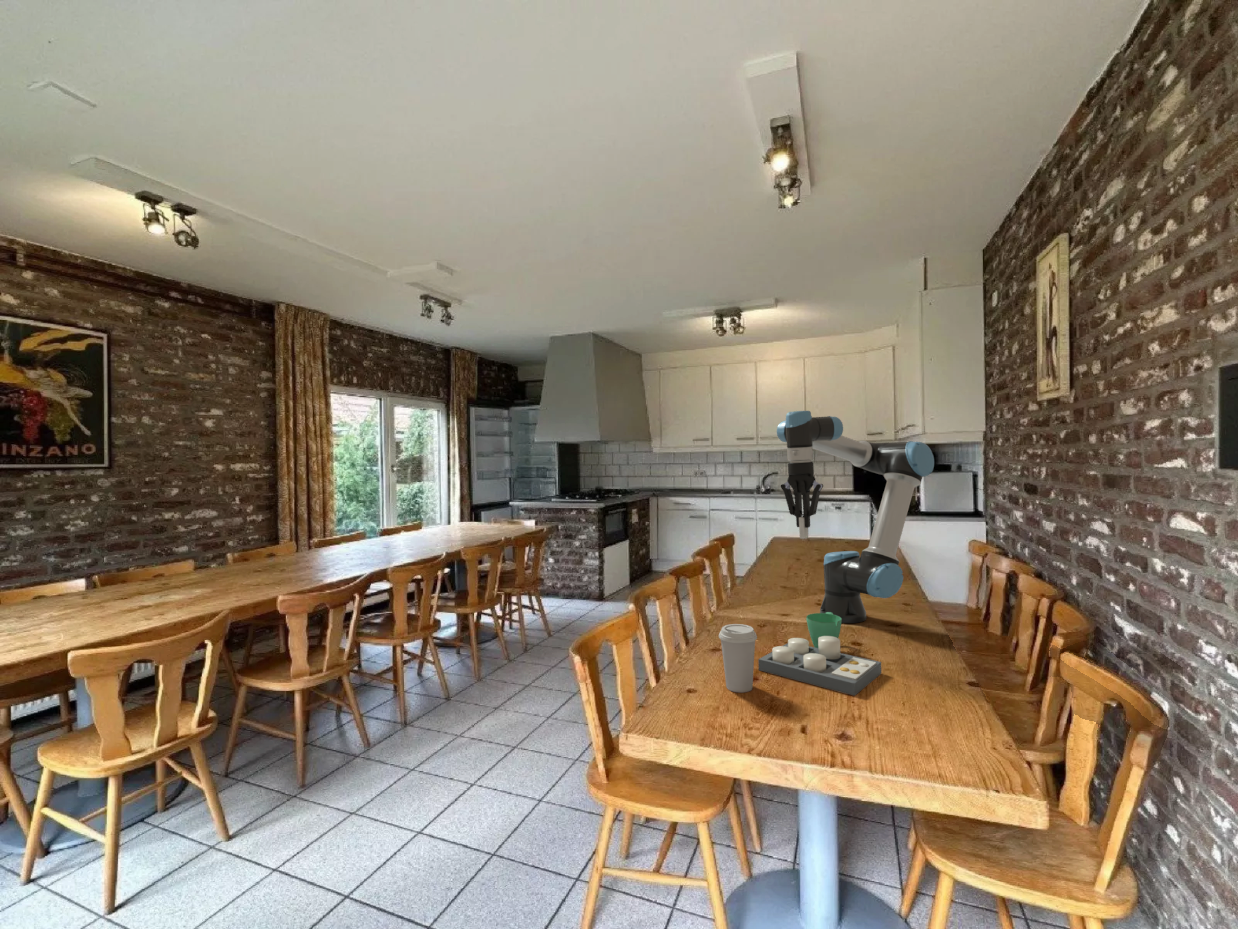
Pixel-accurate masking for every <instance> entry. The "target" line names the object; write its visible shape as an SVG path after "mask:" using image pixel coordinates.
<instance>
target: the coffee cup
mask: <svg viewBox="0 0 1238 929" xmlns="http://www.w3.org/2000/svg"><path fill="white" fill-rule="evenodd" d="M718 639H720V642H721V651H722V652H721V653H722V661H723V669H724V677H725V678H724V679H725V686H726V688H727V690H729V691H731V692H734V693H742V694H743V693H748V692H751V691H752V690H753V684H754V669H755V668H754V667H755V666H754V665H755V662H754V661H755V651H756V650H755V647H756V640H757V639H758V636H757V633H756V631H755V630H754V627H753V626H751V625H747V624H742V623H741V624H740V623H732V624H726V625H723V626H722V627H721V630H720V632H719V634H718Z"/></svg>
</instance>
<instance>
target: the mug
mask: <svg viewBox="0 0 1238 929" xmlns="http://www.w3.org/2000/svg"><path fill="white" fill-rule="evenodd" d="M805 620H806V625H807V629H808V632H809V636H810V638H811V643H812V645H813V647H815V648H818V638H819V637H821V636H833V637H837V638H839V637H840V634H841V629H842V628H841V627H842V623H841V618H840V617H839V616H837V615H834V614H833V613H831V612H827V613H820V612H815V613H810V614H808V615H806V618H805ZM839 639H840V638H839Z"/></svg>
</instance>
